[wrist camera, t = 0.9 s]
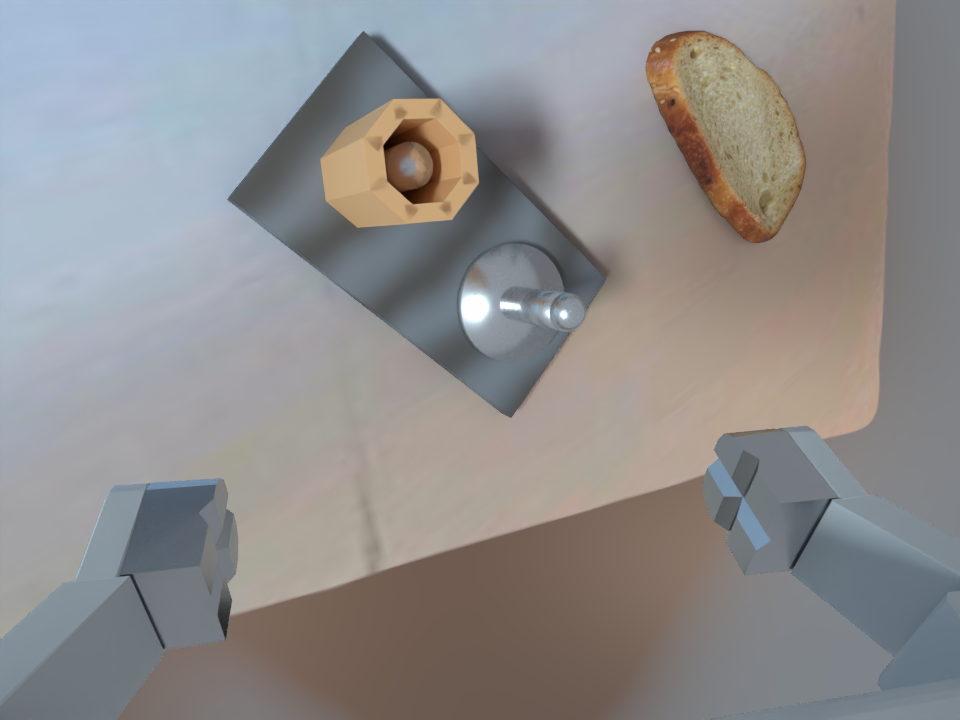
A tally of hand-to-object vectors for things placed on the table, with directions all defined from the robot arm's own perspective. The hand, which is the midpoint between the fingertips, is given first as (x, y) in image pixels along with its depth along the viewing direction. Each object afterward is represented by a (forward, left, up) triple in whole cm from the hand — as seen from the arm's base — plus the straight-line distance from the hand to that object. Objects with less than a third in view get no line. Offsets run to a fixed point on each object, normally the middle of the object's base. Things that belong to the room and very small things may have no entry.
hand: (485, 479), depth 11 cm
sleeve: (-9, +7, -35) cm, 37 cm away
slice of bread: (-19, +40, -37) cm, 58 cm away
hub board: (-6, +13, -37) cm, 39 cm away
